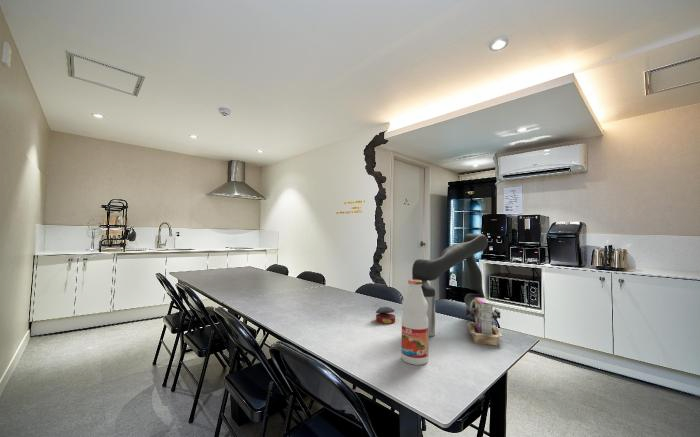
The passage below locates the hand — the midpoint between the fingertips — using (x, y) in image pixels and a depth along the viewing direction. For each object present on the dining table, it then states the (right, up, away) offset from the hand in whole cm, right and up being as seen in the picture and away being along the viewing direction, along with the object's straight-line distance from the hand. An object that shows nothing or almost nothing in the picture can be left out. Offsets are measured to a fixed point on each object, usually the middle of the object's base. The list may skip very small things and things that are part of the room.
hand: (484, 316), depth 124 cm
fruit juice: (-35, -8, -21) cm, 42 cm away
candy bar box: (+1, -10, +2) cm, 11 cm away
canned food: (-40, -11, +24) cm, 48 cm away
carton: (+1, -10, +2) cm, 10 cm away
